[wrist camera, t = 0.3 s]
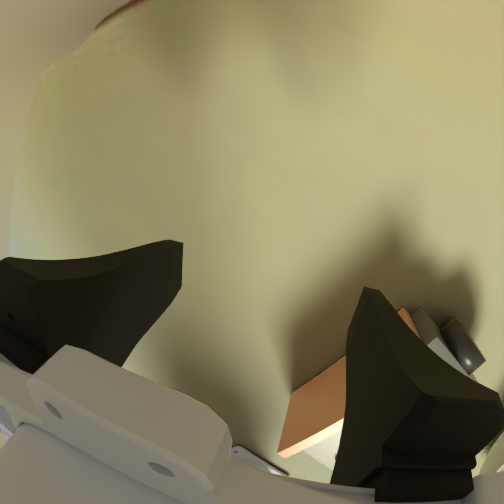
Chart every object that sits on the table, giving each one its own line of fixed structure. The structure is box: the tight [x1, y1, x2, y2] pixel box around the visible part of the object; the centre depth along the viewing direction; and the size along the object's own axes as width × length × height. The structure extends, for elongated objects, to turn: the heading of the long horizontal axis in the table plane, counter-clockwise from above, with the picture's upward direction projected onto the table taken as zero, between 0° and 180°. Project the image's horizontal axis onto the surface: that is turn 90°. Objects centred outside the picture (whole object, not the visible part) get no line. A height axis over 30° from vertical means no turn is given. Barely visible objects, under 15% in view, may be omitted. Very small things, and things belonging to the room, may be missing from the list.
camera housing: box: [302, 307, 486, 470], centre depth 20 cm, size 16×8×5 cm, turn 139°
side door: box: [277, 308, 420, 458], centre depth 20 cm, size 12×1×7 cm, turn 139°
